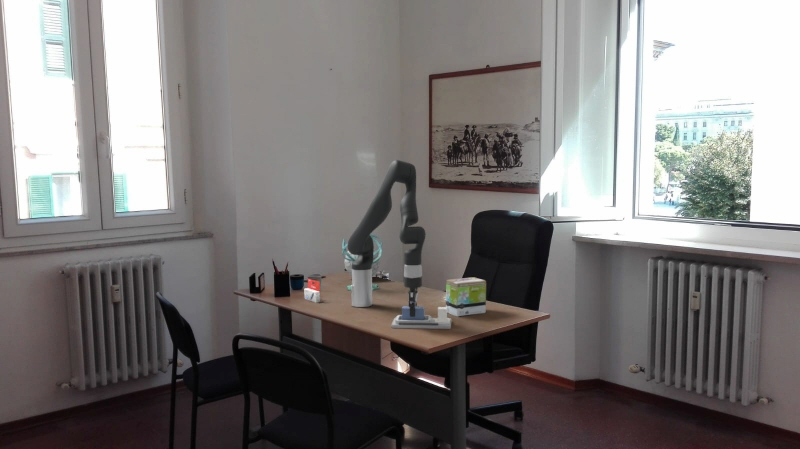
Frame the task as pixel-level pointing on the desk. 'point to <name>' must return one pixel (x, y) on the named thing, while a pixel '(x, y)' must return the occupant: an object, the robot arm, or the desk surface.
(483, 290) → the tea box
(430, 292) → the desk surface
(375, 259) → the armillary sphere
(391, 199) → the robot arm
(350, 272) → the decorative sphere
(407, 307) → the blue block
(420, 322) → the dock
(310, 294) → the ink cartridge box
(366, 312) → the desk surface
